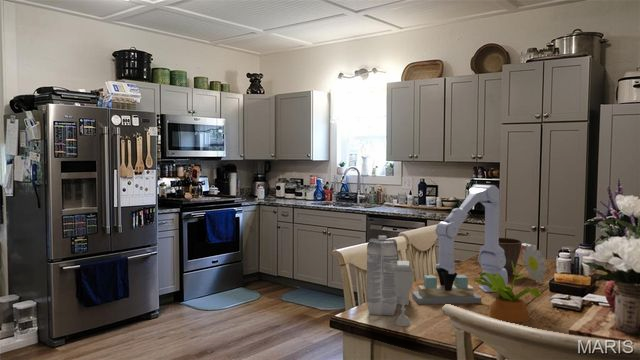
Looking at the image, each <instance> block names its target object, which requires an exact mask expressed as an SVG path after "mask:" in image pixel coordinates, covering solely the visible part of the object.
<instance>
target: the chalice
mask: <svg viewBox="0 0 640 360" xmlns="http://www.w3.org/2000/svg"><path fill="white" fill-rule="evenodd" d="M393 271H394V284H395V288H396V290H397V293H398V295H399V297H401V298H402V302H401V308H400V310H401V314H400V315H398V316H397V318H396V321H395V325H397V326H399V327H409V326H411V321H410V318H409V317H408V316H407V315H406V314H405V311H406V310H407V309H406V308H405V306H406V305H405V304H406V303H405V297H407V296H408V294H409V295H410V291H412V287H413V273H414V271H415V270H414V268H411V267H410V268H408V267H396V268H393Z"/></svg>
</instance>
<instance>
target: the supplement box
mask: <svg viewBox="0 0 640 360" xmlns="http://www.w3.org/2000/svg"><path fill="white" fill-rule="evenodd" d="M397 267H408V268H411V267H410V261H409V260H397ZM401 302H402V298H401V297H399V295H398V293H397V305H398V306H399V305H401ZM405 303H406V304H405V306H409V305H410V304H409V303H410V293H409V294H408V296H407V297H405ZM401 306H402V305H401Z"/></svg>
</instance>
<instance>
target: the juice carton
mask: <svg viewBox="0 0 640 360" xmlns="http://www.w3.org/2000/svg"><path fill="white" fill-rule="evenodd" d="M397 261H398V244H397V240H396V239H394V238H393V239H392V238H391V239H387V235H378V238H370V239H369V241H368V243H367V247H366V306H367V310H368V313H369V315H374V316H392V317H393V316H395V314H396V309H397V305H398V304H397V290H396V288H395V284H394V271H393V268H396V267H397Z"/></svg>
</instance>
